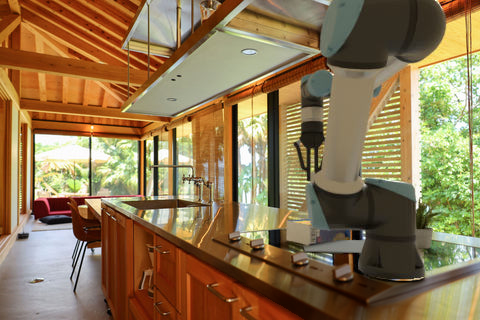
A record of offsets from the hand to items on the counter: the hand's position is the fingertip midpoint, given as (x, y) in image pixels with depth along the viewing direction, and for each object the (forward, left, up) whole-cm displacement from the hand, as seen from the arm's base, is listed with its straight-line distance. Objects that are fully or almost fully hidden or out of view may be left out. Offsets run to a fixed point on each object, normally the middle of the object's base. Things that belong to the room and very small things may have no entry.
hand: (312, 191), depth 114 cm
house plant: (+3, -35, -19) cm, 40 cm away
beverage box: (+2, +5, -14) cm, 16 cm away
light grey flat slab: (0, -8, -18) cm, 20 cm away
